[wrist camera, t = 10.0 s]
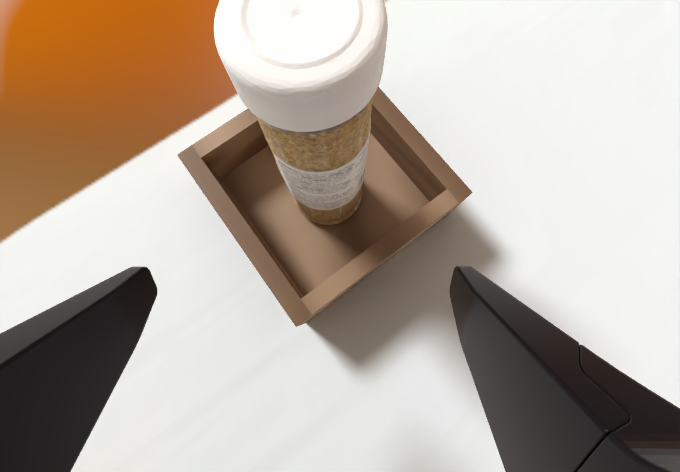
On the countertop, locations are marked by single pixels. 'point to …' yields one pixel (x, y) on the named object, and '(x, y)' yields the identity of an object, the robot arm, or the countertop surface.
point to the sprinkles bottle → (309, 90)
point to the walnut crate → (312, 238)
